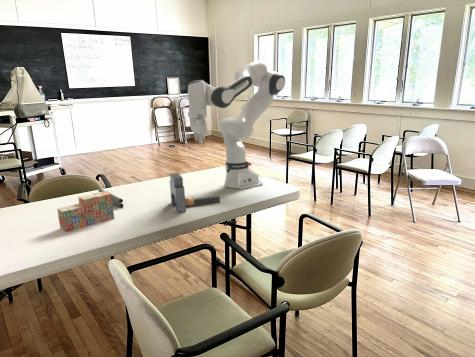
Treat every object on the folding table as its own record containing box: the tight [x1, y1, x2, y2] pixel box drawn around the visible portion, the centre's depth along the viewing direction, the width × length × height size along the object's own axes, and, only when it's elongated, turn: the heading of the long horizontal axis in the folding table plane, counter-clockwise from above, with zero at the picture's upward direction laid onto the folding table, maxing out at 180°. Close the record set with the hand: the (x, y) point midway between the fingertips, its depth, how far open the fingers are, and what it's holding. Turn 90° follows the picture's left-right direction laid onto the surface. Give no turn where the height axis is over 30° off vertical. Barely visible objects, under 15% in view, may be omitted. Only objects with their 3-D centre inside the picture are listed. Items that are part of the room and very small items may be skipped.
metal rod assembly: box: [98, 188, 124, 209], centre depth 183 cm, size 26×3×5 cm, turn 43°
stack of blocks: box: [57, 190, 115, 233], centre depth 154 cm, size 21×6×12 cm, turn 133°
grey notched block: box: [169, 172, 187, 214], centre depth 171 cm, size 4×15×16 cm, turn 21°
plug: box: [185, 194, 221, 208], centre depth 176 cm, size 18×4×4 cm, turn 111°
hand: (199, 141), depth 179 cm, fingers open, 8 cm apart
